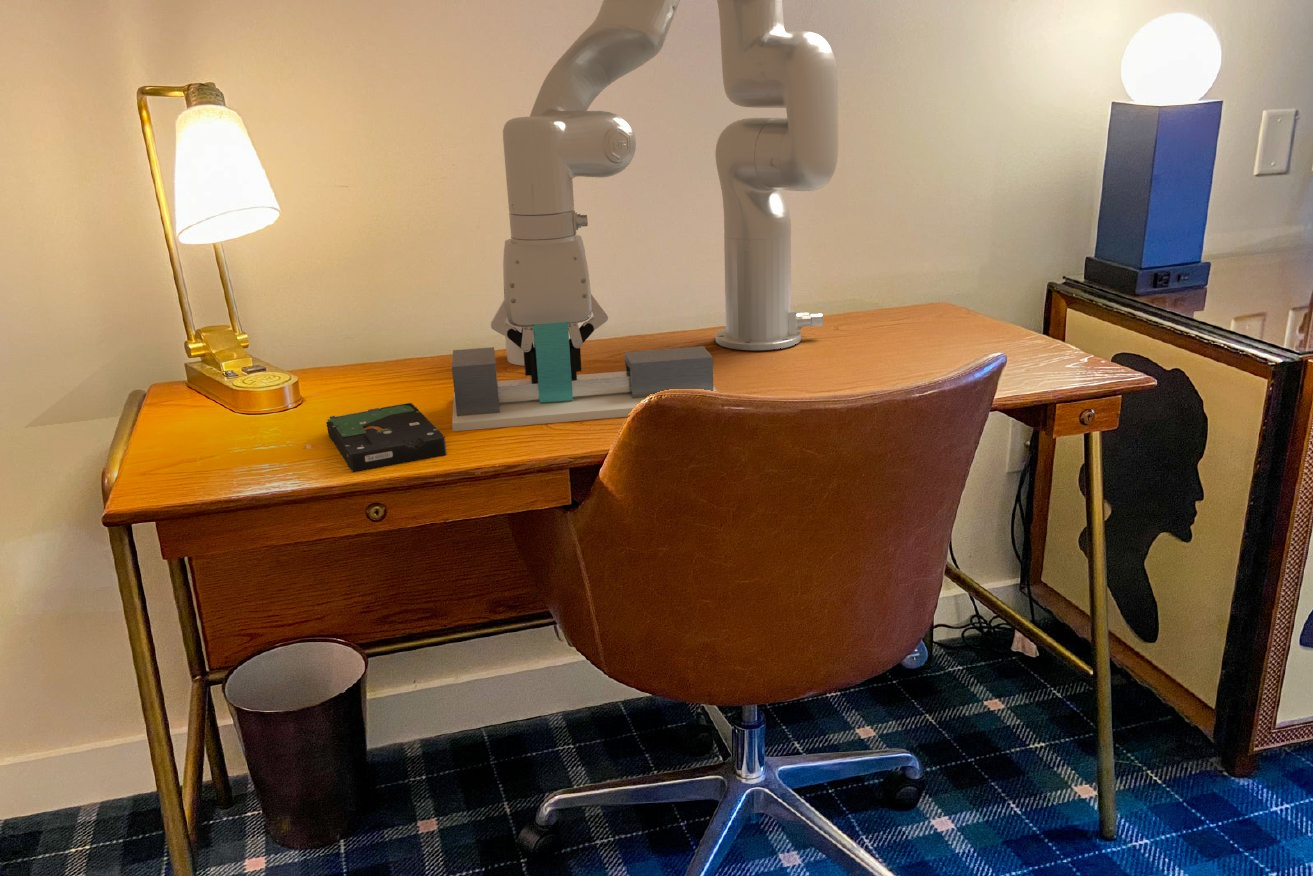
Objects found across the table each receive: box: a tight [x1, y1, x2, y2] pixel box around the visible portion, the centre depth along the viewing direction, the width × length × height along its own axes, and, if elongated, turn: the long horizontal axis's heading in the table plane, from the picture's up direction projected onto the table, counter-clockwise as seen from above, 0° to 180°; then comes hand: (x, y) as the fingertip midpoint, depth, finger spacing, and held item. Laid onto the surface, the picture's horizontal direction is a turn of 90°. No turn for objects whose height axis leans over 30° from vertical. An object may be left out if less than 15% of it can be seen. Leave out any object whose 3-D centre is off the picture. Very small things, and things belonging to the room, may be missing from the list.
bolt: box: [497, 322, 631, 403], centre depth 129 cm, size 21×4×10 cm, turn 99°
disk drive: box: [325, 402, 448, 474], centre depth 119 cm, size 10×3×15 cm
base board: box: [451, 385, 718, 432], centre depth 131 cm, size 32×13×1 cm, turn 99°
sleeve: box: [624, 345, 714, 399], centre depth 131 cm, size 10×6×4 cm, turn 99°
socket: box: [451, 346, 500, 416], centre depth 128 cm, size 5×8×6 cm, turn 9°
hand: (553, 377), depth 129 cm, fingers closed on bolt, 4 cm apart
